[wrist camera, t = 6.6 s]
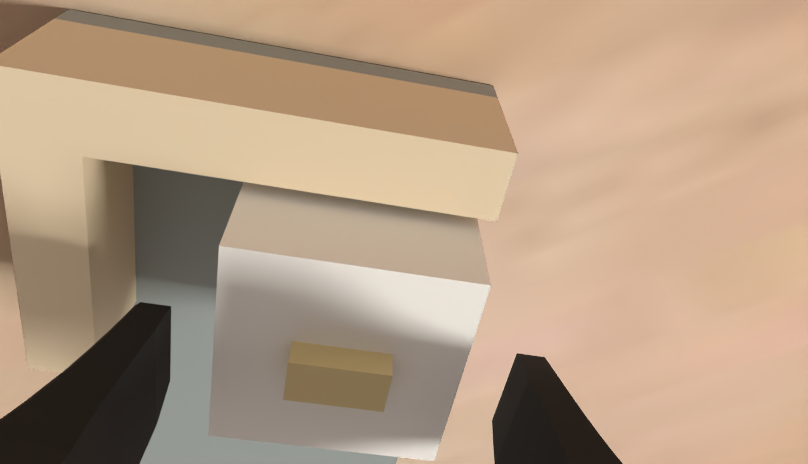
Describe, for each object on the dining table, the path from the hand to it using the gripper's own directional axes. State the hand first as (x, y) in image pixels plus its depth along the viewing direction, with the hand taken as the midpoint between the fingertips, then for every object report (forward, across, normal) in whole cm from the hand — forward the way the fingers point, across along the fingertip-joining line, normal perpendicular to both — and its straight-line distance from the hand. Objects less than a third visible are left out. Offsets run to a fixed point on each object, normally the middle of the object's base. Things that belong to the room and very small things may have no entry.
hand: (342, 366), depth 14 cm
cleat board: (+5, +2, +3) cm, 7 cm away
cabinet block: (+5, 0, 0) cm, 5 cm away
